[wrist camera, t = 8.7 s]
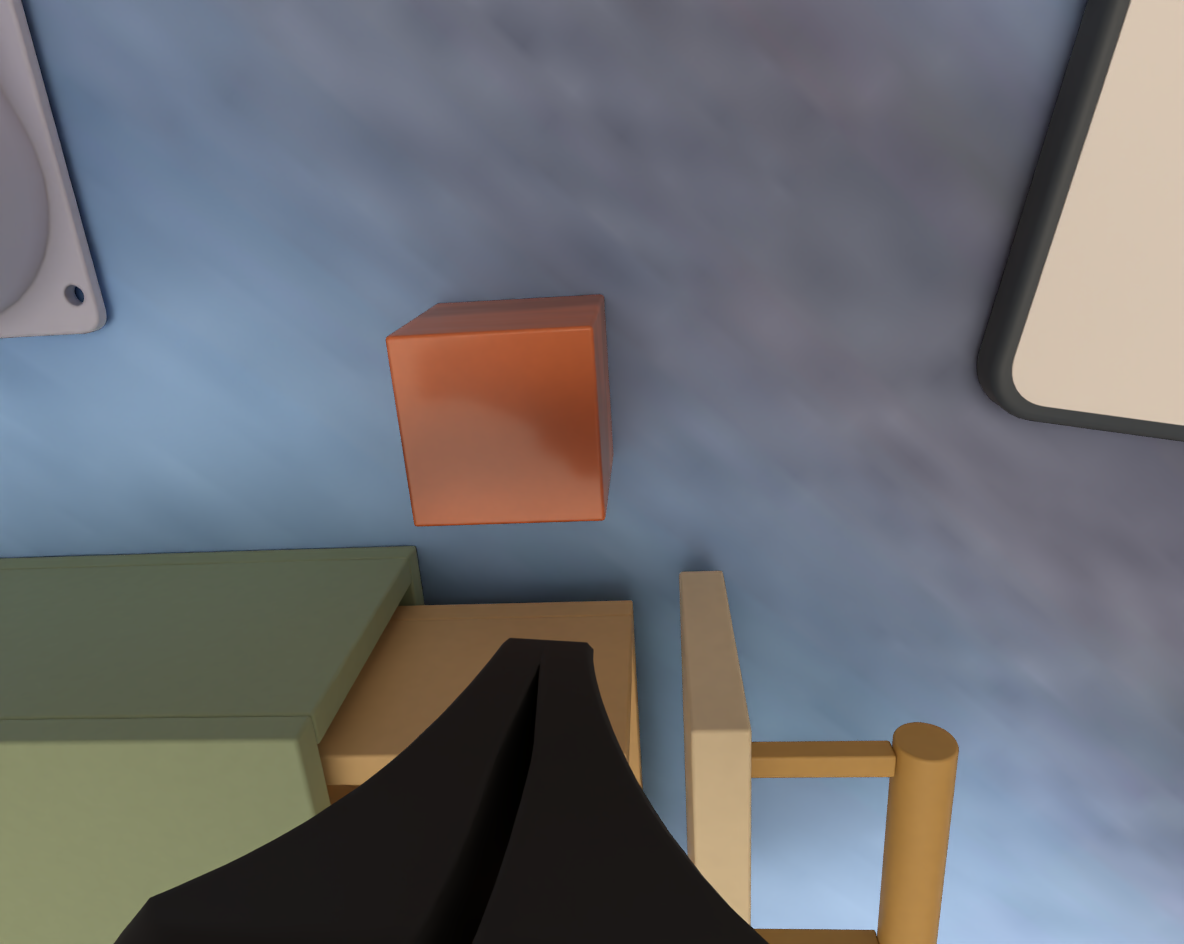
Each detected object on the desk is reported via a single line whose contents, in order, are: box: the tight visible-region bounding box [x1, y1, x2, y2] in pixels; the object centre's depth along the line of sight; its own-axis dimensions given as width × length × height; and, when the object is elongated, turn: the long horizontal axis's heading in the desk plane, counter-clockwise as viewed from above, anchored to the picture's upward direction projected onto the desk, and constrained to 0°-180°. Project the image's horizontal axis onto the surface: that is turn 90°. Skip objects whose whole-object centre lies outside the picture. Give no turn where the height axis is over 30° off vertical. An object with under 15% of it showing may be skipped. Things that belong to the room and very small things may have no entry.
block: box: [386, 294, 613, 526], centre depth 20 cm, size 4×4×4 cm
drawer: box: [317, 571, 959, 944], centre depth 21 cm, size 19×11×7 cm, turn 94°
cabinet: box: [0, 546, 425, 944], centre depth 22 cm, size 16×13×9 cm
